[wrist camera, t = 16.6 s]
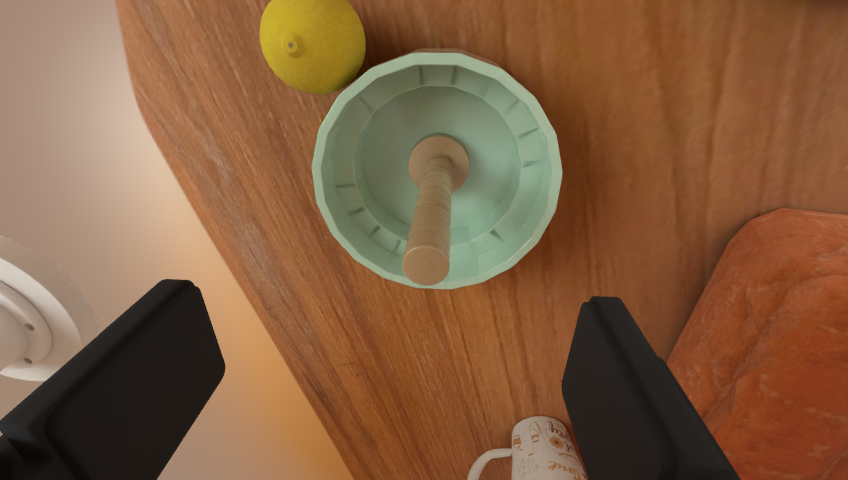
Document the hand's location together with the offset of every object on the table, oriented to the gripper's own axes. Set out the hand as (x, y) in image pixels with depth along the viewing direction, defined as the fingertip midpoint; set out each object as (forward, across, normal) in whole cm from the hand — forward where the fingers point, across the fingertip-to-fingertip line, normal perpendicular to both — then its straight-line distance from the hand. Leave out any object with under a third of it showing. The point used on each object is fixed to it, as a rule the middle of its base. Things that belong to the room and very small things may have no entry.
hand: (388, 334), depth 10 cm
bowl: (+21, -1, +2) cm, 21 cm away
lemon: (+21, +6, -6) cm, 23 cm away
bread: (+21, -30, +18) cm, 41 cm away
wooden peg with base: (+20, -1, +2) cm, 20 cm away
